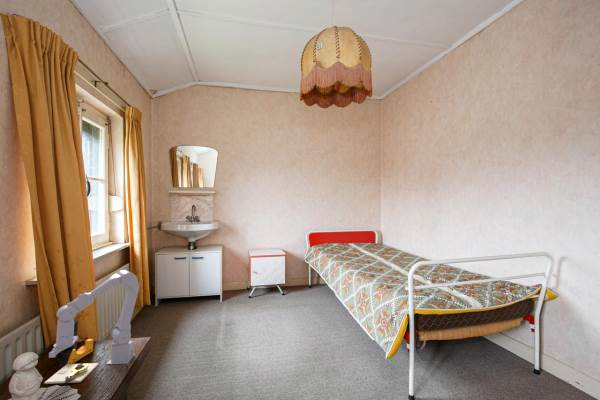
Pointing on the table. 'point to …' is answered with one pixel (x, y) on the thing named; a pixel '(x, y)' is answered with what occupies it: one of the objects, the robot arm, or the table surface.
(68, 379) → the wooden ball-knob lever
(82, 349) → the pipe clamp
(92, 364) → the board
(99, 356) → the table surface
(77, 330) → the deodorant
